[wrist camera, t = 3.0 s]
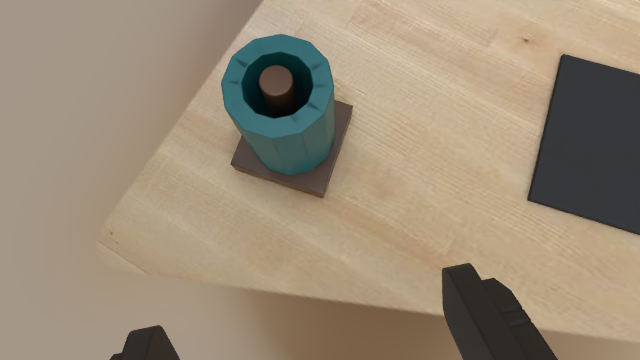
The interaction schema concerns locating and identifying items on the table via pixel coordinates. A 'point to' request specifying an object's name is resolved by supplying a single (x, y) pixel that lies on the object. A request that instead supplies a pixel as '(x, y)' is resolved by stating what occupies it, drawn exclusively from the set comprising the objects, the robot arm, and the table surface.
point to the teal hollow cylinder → (290, 131)
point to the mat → (592, 145)
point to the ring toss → (284, 103)
